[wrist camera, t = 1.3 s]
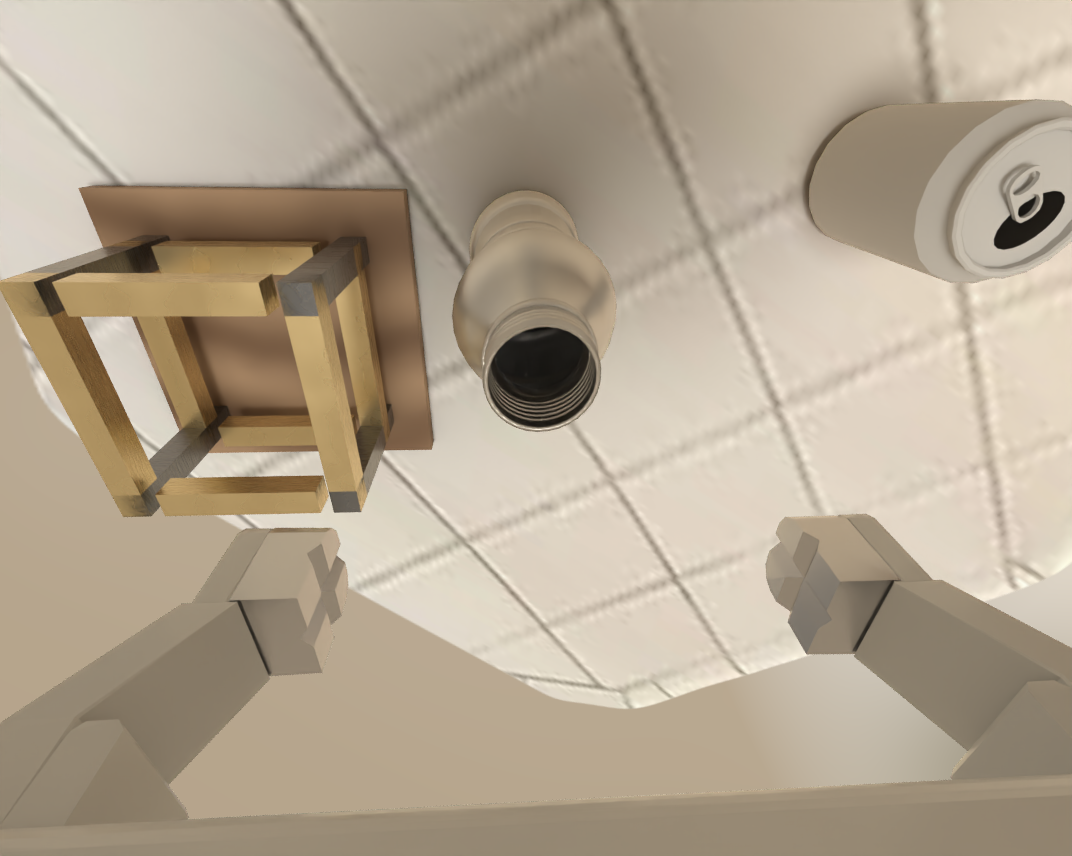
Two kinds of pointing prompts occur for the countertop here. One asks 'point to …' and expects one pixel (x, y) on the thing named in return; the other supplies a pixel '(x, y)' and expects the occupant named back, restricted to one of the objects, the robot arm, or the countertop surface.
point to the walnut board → (263, 341)
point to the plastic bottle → (533, 312)
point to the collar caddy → (159, 302)
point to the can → (951, 186)
